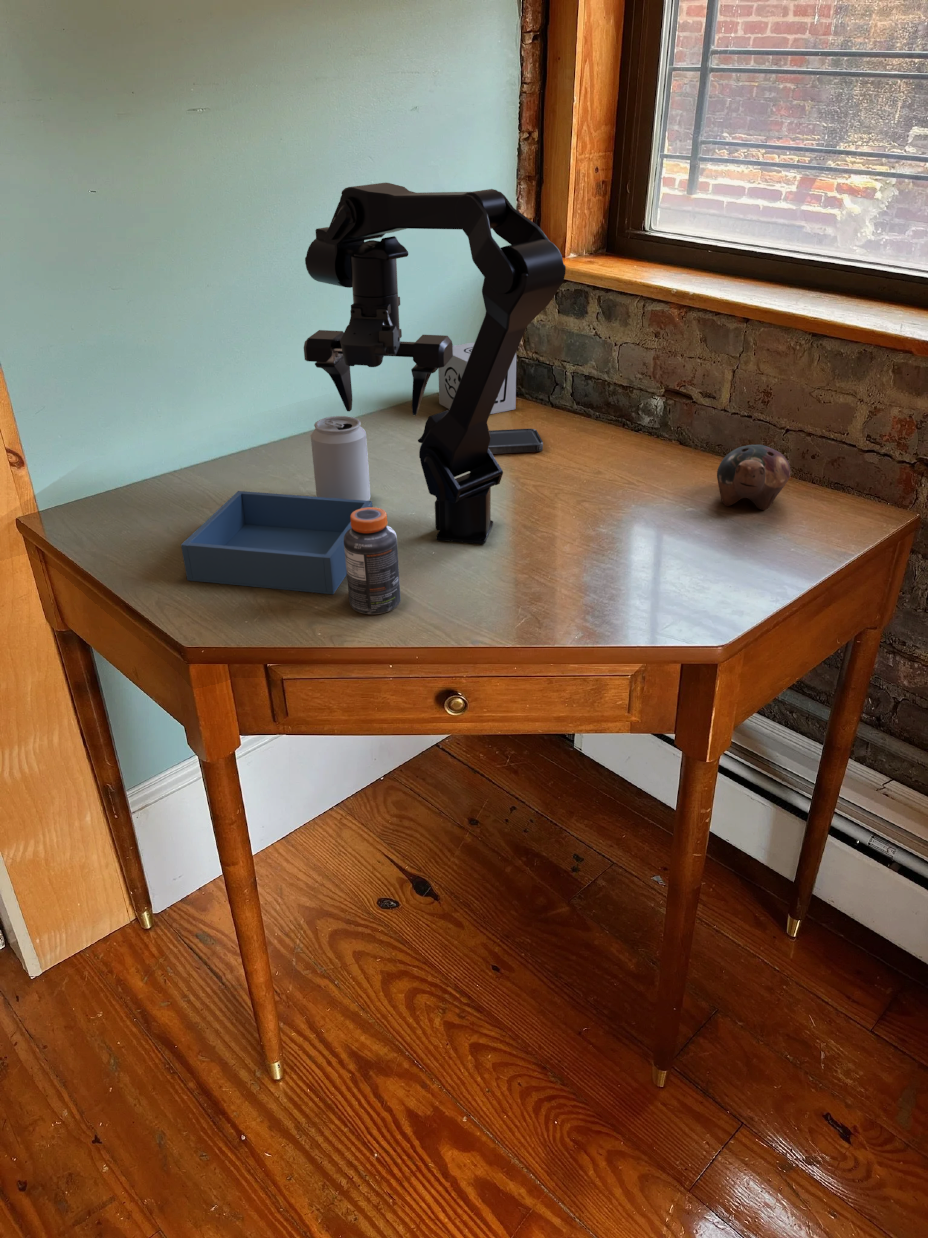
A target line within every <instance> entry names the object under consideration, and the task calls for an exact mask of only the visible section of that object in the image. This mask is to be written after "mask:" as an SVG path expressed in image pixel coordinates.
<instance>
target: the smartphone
mask: <svg viewBox="0 0 928 1238" xmlns="http://www.w3.org/2000/svg"><path fill="white" fill-rule="evenodd" d="M489 433H490V443H489V447H488V448H489V450H490V451H491V453H492V455H497V454H499V455H500V454H517V453H518V454H519V453H537V452H538V453H539V452H542V451H544V450H543V449H544V442H543V439H542V438H541V436H540V434H539V432H538V430H537V429H535V428H515V429H513V428H511V429H493V430H489Z"/></svg>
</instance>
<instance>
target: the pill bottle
mask: <svg viewBox="0 0 928 1238" xmlns="http://www.w3.org/2000/svg"><path fill="white" fill-rule="evenodd" d="M350 518H351V527H352V528H350V529H349V530H348V531H347V532H346V534H345V536H344V550H345V561H346V572H347V575H346V581H347V591H348V602H349V605H350V607H351V608H352V610H354V611H355V612H358V613H361V614H363V615H364V614H365V615H381V614H385V613H388V612H390V611H392V610H394V609H395V608H397V607H398V606H399V605H400V603H401V599H402V597H401V584H400V567H399V566H400V564H399V550H398V549H399V548H398V537H397V536H398V535H397V533H396V531H395V530H394V528H392V527H391V526H389V525H388V514H387V512H386V510H384V509H383V508H379V507H374V506H372V507H367V508H361V509H358V510H355V511H354V512H352V514H351V516H350Z"/></svg>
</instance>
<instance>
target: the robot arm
mask: <svg viewBox="0 0 928 1238" xmlns="http://www.w3.org/2000/svg"><path fill="white" fill-rule="evenodd" d="M406 229H409V230H410V229H412V230H413V229H415V230H416V229H417V230H462V231H463V233H464V234H465V235H466V237H467V239H468V244H469V250H470V255H471V260H472V262H473V263H474V265H475V266H476V268H477V269H478V270H479V272H480V273H481V275H482V276H483V277H484V278H483V283H482V287H481V294H482V300H483V304H484V308H485V314H484V317H483V320H482V322H481V325H480V328H479V330H478V333H477V336H476V338H475V341H474V342H475V343H474V346H473V349H472V351H471V354H470V356H469V359H468V362H467V364H466V367H465V370H464V372H463V375H462V377H461V380H460V383H459V385H458V388H457V391H456V393H455V396H454V399H453V401H452V404H451V406H450V409H447V410H444V411H441V412H438V413H434V414H431V415H429V416H428V417H427V419H426V421H425V424H424V429H423V433H422V434H421V437H420V438H418V439H417V442H418V443H419V444H421V445H420V446H419V453H418V456H419V457H418V458H419V459H420V460H419V462H420V465H421V470H422V472H423V476H424V479H425V484H426V487H427V490H428V494H429V495H431V496H434V497H435V501H434V521H435V523H434V524H435V530H436V531H437V534H436V535H435V537H436V538H435V539H436V541H442V542H452V543H465V544H476V545H477V544H478V545H484V544H486V543H487V540H488V538H489V536H490V533H491V531H492V529H493V526H494V521H493V520H492V518H491V517H492V516H491V514H492V513H491V511H492V509H491V508H492V507H491V505H492V504H491V503H492V501H491V498H492V497H491V495H492V494H491V487H494V486H498V485H500V483H501V481H502V477H503V475H504V470H503V469H502V468H501V466H500V464H499V462H498V461H497V459H496V458H495V456H494V454H492V453H491V451H490V450H489V448H488V447H489V443H490V433H489V431H490V430H489V425H488V420H489V417H490V415H491V414H490V413H491V411H492V408H493V406H494V403H495V401H496V399H497V396H498V394H499V392H500V389H501V387H502V384H503V382H504V380H505V377H506V375H507V373H508V370H509V368H510V365H511V363H512V361H513V358H514V356H515V354H516V355H517V351H518V349H519V346H520V345H521V342H522V339H523V337H524V334H525V332H526V329H528V328H527V327H529V325H530V324H531V322H532V321H534V320H535V318H537V317H538V316H539V314H541V313H542V312H543V311H544V309H545V308H547V307H548V306H549V305H550V303H551V302H552V300H553V298H554V297H555V295H556V294H557V292H558V291H559V289H560V287H561V286H562V284H563V282H564V280H565V276H566V268H567V267H566V264H565V263H564V258H563V255H562V253H561V251H560V249H559V248H558V247H557V246H556V245H555V243H554V242H552V241H550V239H549V238H548V236H547V235H546V234H545V232H544V231H543V230H542V228H541V227H540V226H538V224H536V223H535V222H533V221H532V220H531V219H530V218H528V217H526V216H525V214H523V213H521V212H520V211H519V210H517V209H516V208H515V207H514V206H513V205H512V203H511V202H510V201H509V199H508V198H507V196H506V195H504V193H502V192H501V191H499V190H497V189H495V188H494V189H493V188H489V189H488V188H487V189H482V190H475V191H439V192H438V191H437V192H436V191H435V192H429V191H427V192H416V191H412V190H409V189H408V188H406V187H405V186H404V185H403V186H402V185H399V184H395V183H390V182H378V183H370V184H363V185H355V186H348V187H345V188H343V189H342V190H341V195H340V198H339V201H338V203H337V206H336V209H335V210H334V214H333V216H332V219H331V221H330V224H329V226H326V227H319V228H315V230H314V231H315V239H314V240H312V242H310V244H309V246H308V248H307V251H306V256H305V257H304V264H305V267H306V268H305V269H306V271H307V273H308V275H309V277H310V278H311V279H313V280H314V281H316V282H318V283H322V284H328V285H331V286H337V287H342V288H347V289H349V288H350V289H351V288H352V290H351V291H352V303H351V304H350V318H349V322H348V325H347V326H346V327H345V330H344V331H343V330H325V329H319V330H317V331H316V332H314V333H313V334H311V335H310V336H309V337H307V338H306V340H305V341H304V342H303V343H304V344H303V356H304V361H305V362H313V363H314V366H315V367H316V368H319V369H322V370H323V371H325V372H326V373H327V374H328V375H329V377H330V379H331V381H332V382H333V384H334V387H336V390H337V393H338V394H339V397H340V399H341V401H342V404H343V406H344V409H345V410H346V412H348V413H349V412H351V411H352V410H353V387H352V375H351V367H355V366H365V367H366V366H367V368H377V367H379V366H381V365H382V364H383V359H384V357H398V358H401V357H402V358H412V361H413V362H414V363H415V365H414V366H413V367H411V375H412V394H411V395H412V396H411V398H412V399H411V411H412V416H417V415H418V414H419V413H418V412H419V409H420V406H421V403H422V400H423V397H424V394H425V391H426V388H427V385H428V382H429V379H430V378H431V375H432V374H434V373H436V372H437V371H438V368H441V367H444V366H445V365H446V364H447V363H448V361H449V360H450V359H451V358H452V357H453V346H454V345H453V341H452V339H451V338H450V336H449V335H442V334H440V335H439V334H422V335H421V336H420V337H418V339H417V340H416V341H402V340H401V339H402V337H403V335H402V334H403V333H402V328H400V311H399V310H400V309H399V307H400V306H401V297H400V296H399V289H398V266H397V264H398V263H397V259H401V258H406V257H409V251H408V249H407V248H406V247H405V246H404V245H403V244H401V243H400V242H399V240H398V238H397V236H395V235H393V236H388V237H384V236H385V235H386V234H391V233H396V232H400V231H403V230H406ZM492 231H493V232H494V234H496V235H497V236H499V237H500V238H501V239H502V240H504V241H505V242H507V243H509V245H505V246H502V247H501V246H500V245H499V244H498V242H497V241H496V239H494V237H493V234H492V233H493V232H492ZM379 238H380V240H374V239H379Z"/></svg>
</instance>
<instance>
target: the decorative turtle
mask: <svg viewBox="0 0 928 1238" xmlns="http://www.w3.org/2000/svg"><path fill="white" fill-rule="evenodd" d="M790 477H791V466H790V463H789V461H788V459H787V458H786V456H785V455H784V454H782V453H781V452H780V451H778V450H777V449H774V448H772V447H770V446H767V445H763V444H747V445H743V446H739V447H737V448H735V449H733V450H732V451H730V452H729V453H727V454H726V455H725V456H724V457H723V458H722V460H721V462H720V463H719V465H718V468H717V470H716V479H717V485H718V490H719V493H720V498H721V502H722V504H724V506H726V507H730V506H733V505H734V504H736V503H738V501H740V500H741V499H748V500H749V501H751V502H752V503H753V504H754V505H755V506H756V508H757V509H759V510H760V511H766V510H768V509H769V508H770V507H771V506H772V504H773V503H774V501H775V500H776V498H777V496H778V495H779V494H780V493H781V491H782V490H783V489H784V487H785V486H786V485H787V484H788V482H789V479H790Z"/></svg>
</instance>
